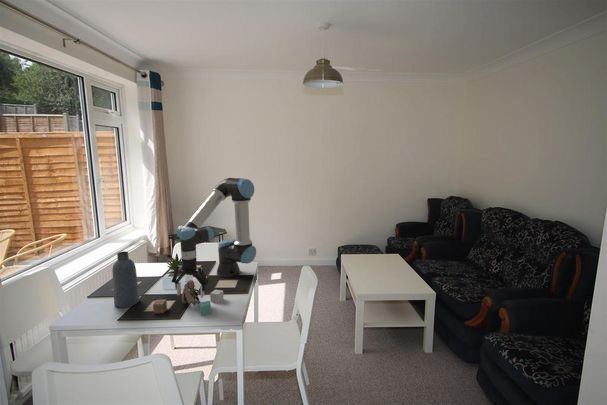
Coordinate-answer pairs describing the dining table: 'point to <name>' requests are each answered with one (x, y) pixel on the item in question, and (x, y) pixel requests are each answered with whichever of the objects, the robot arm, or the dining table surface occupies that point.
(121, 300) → the vase
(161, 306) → the walnut cube
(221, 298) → the grey cube
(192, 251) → the robot arm
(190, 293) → the toy
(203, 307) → the teal cube
